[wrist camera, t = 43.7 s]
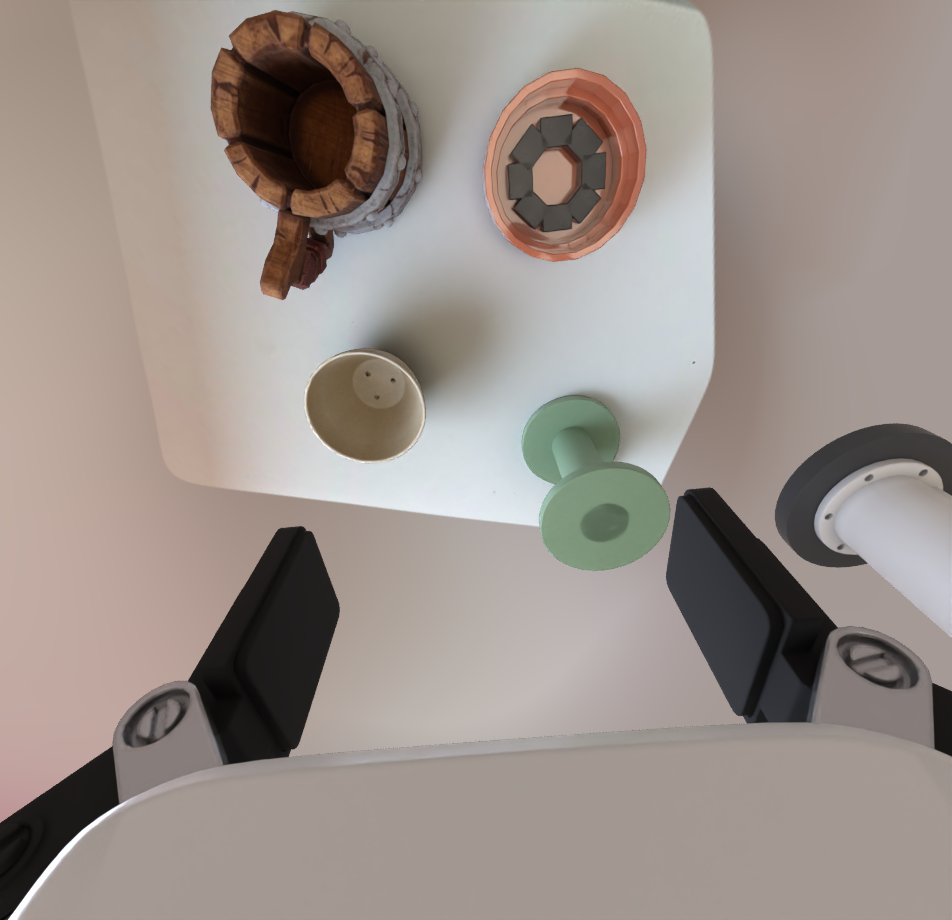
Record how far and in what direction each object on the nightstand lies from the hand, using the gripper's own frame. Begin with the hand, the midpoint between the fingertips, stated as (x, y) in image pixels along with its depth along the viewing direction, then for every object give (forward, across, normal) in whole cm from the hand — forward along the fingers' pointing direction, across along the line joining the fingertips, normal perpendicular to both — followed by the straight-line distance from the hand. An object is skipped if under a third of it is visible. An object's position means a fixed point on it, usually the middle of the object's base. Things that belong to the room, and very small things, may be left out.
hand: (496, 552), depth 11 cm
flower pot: (+32, +10, +6) cm, 35 cm away
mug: (+32, +9, -11) cm, 35 cm away
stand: (+32, -8, +14) cm, 36 cm away
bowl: (+32, -7, -9) cm, 34 cm away
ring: (+32, -7, -9) cm, 34 cm away
